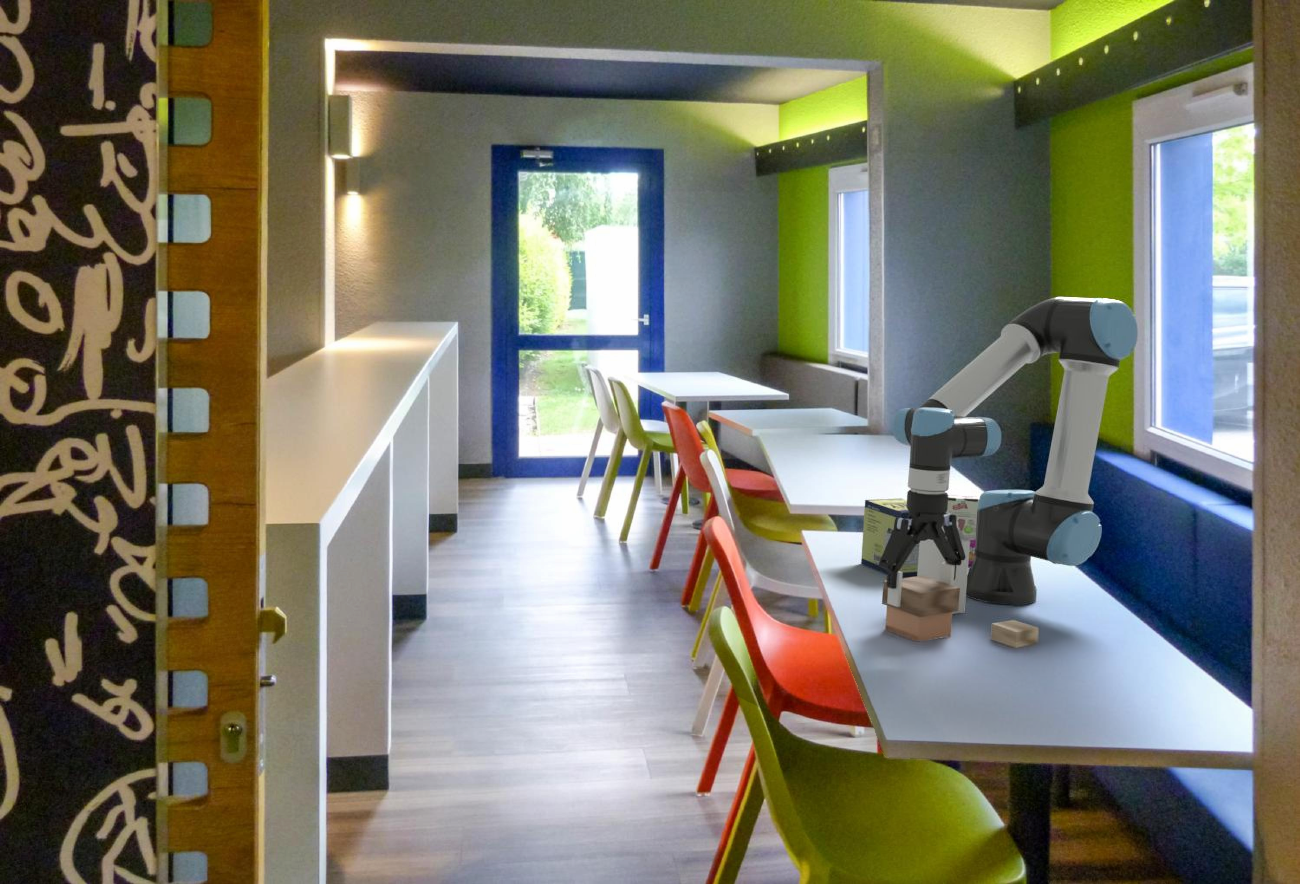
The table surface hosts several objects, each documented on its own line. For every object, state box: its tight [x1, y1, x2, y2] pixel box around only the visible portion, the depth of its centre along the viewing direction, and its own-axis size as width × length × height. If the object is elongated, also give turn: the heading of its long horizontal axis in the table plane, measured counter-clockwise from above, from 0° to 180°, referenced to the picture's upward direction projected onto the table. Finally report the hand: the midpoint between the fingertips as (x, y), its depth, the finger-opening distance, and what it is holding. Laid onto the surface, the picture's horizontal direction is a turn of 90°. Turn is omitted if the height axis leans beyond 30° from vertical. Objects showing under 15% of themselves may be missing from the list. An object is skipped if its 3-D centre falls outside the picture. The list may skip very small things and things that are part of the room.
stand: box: [990, 619, 1040, 649], centre depth 230 cm, size 6×6×3 cm
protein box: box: [860, 498, 919, 578], centre depth 283 cm, size 10×16×16 cm
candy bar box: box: [946, 494, 980, 568], centre depth 292 cm, size 11×5×16 cm, turn 80°
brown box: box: [881, 576, 960, 617], centre depth 232 cm, size 10×10×4 cm
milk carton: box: [917, 522, 970, 615], centre depth 249 cm, size 7×7×19 cm
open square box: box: [884, 605, 953, 643], centre depth 233 cm, size 9×9×5 cm
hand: (920, 601), depth 232 cm, fingers open, 13 cm apart
